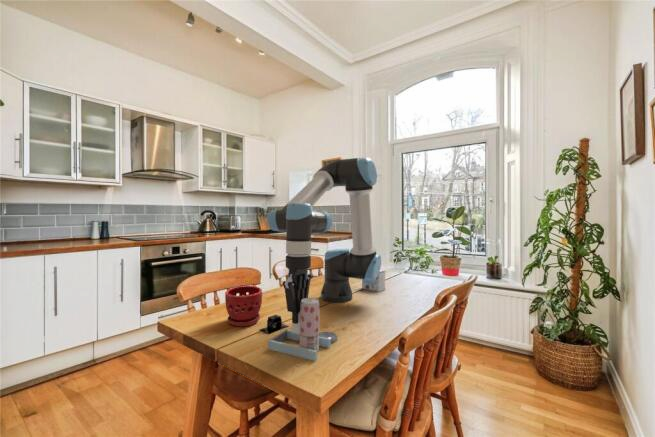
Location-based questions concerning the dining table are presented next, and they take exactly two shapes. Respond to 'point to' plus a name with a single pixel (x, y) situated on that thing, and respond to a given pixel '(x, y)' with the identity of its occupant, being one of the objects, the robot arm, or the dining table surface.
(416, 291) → the dining table surface
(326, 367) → the dining table surface
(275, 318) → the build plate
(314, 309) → the beverage can
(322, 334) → the grey round disc
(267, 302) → the dining table surface
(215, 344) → the dining table surface
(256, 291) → the plant pot
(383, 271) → the light bulb box
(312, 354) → the channel
